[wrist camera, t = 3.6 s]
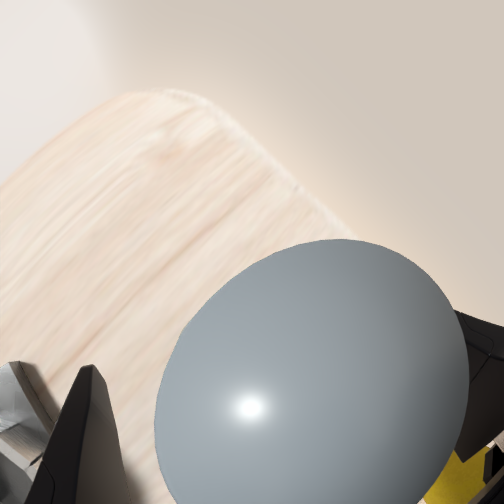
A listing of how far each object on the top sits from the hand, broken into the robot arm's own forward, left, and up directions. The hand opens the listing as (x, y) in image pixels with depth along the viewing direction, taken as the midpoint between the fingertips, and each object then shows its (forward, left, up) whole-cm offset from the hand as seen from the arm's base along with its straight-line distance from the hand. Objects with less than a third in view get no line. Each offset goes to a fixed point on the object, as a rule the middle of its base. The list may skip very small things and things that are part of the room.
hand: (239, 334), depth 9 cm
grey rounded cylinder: (-1, 0, -7) cm, 7 cm away
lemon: (-18, -7, -7) cm, 20 cm away
